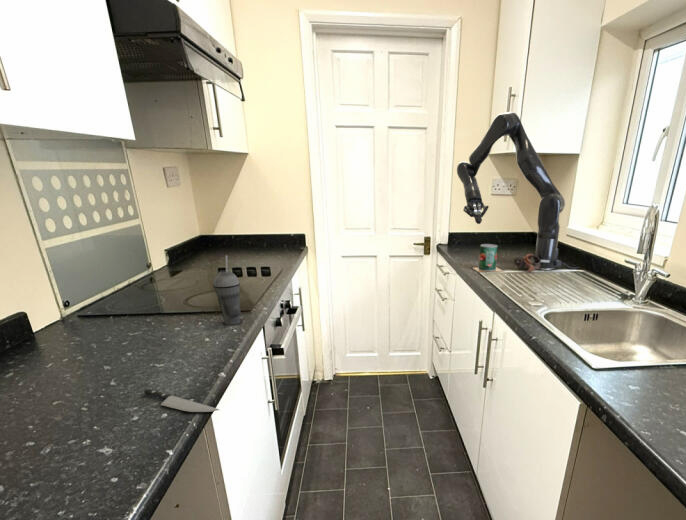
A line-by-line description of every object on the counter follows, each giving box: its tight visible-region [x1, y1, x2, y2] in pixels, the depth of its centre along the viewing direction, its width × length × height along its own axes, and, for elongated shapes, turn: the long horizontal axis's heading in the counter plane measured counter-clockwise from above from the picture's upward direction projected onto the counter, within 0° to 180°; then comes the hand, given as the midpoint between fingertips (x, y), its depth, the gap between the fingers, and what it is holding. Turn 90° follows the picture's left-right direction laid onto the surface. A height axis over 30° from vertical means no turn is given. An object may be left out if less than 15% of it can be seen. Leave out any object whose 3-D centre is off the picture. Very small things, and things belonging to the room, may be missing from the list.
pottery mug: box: [513, 253, 541, 273], centre depth 189 cm, size 12×10×8 cm
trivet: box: [472, 266, 504, 273], centre depth 192 cm, size 12×9×1 cm
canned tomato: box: [478, 243, 499, 272], centre depth 190 cm, size 8×8×11 cm
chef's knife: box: [144, 388, 220, 413], centre depth 79 cm, size 19×1×3 cm
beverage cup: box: [212, 254, 242, 326], centre depth 120 cm, size 7×7×20 cm
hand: (479, 222), depth 199 cm, fingers closed
